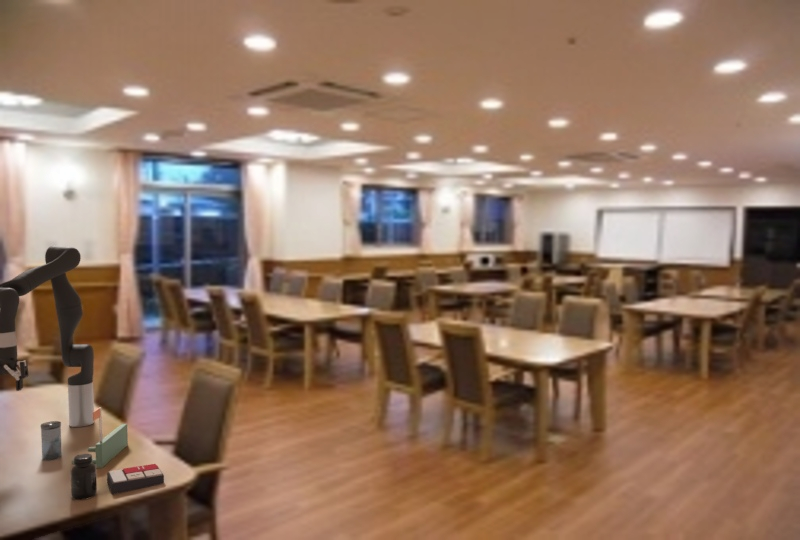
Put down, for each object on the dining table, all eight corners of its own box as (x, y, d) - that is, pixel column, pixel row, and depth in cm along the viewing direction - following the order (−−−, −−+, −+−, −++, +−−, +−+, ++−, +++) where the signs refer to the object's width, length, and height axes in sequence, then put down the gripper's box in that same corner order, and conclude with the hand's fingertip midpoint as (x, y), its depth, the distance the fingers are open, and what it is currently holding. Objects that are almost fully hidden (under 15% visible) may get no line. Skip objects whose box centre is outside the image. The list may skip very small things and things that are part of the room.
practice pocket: (94, 445, 227) (93, 392, 226) (127, 444, 228) (126, 392, 226) (61, 471, 202) (59, 412, 201) (98, 471, 203) (96, 411, 201)
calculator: (164, 473, 193) (112, 481, 184) (164, 486, 193) (112, 495, 184) (156, 462, 202) (107, 469, 193) (156, 475, 202) (106, 483, 194)
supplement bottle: (90, 488, 189) (89, 450, 188) (101, 494, 184) (99, 455, 184) (67, 496, 184) (66, 457, 183) (77, 502, 179) (76, 462, 178)
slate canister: (47, 454, 218) (46, 421, 218) (65, 453, 219) (64, 420, 218) (38, 460, 212) (36, 426, 211) (56, 460, 213) (55, 426, 212)
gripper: (31, 342, 216) (33, 387, 217) (-11, 343, 216) (-9, 388, 217) (19, 346, 209) (21, 393, 210) (-24, 347, 208) (-22, 393, 209)
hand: (6, 390), depth 213 cm, fingers open, 8 cm apart
